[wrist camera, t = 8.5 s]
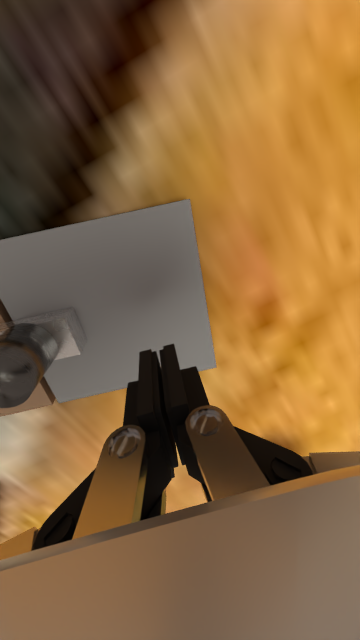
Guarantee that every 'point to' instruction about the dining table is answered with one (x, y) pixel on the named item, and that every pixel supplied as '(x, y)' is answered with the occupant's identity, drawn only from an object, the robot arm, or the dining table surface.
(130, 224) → the lock base
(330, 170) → the dining table surface
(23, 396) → the bolt
